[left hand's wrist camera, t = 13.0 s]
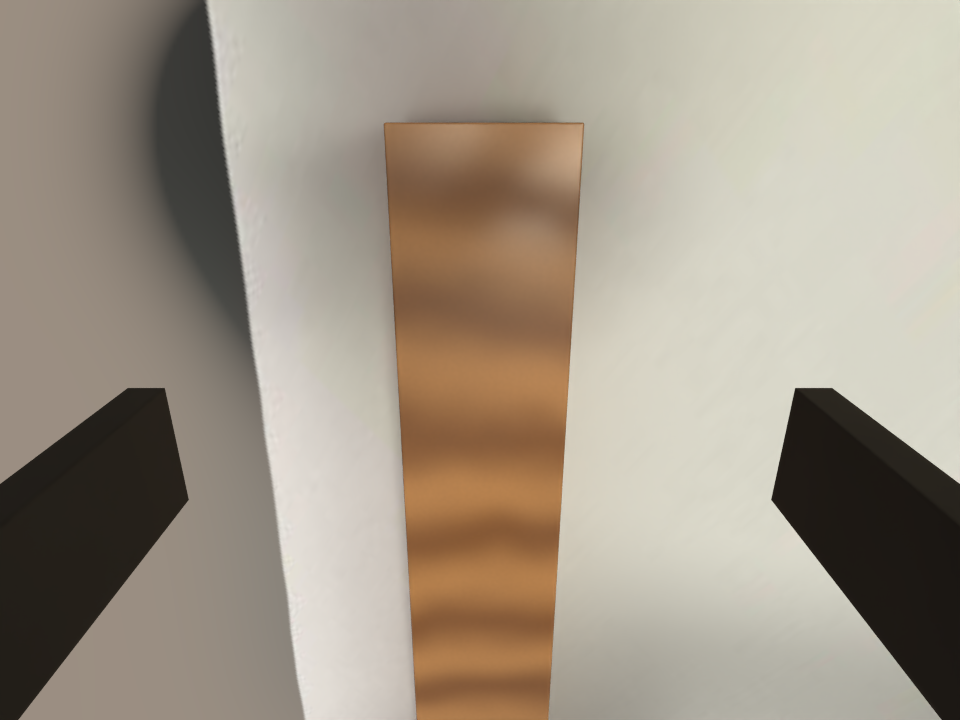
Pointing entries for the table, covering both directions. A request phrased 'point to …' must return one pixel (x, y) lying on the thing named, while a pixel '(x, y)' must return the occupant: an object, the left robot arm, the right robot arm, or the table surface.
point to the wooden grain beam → (483, 400)
